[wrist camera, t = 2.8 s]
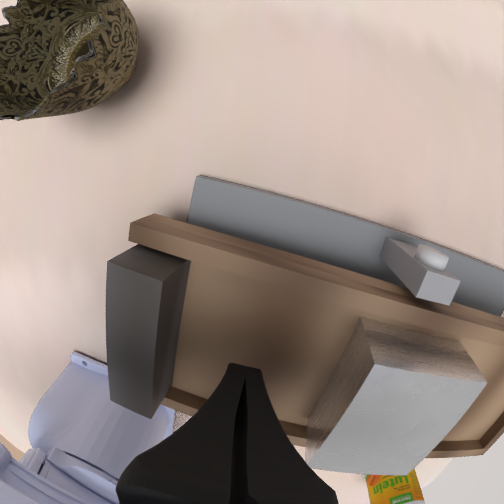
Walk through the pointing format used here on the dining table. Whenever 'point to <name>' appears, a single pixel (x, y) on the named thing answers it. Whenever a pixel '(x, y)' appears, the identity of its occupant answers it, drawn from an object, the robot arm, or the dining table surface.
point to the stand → (347, 243)
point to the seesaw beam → (267, 327)
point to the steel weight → (390, 400)
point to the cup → (64, 55)
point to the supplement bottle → (394, 489)
